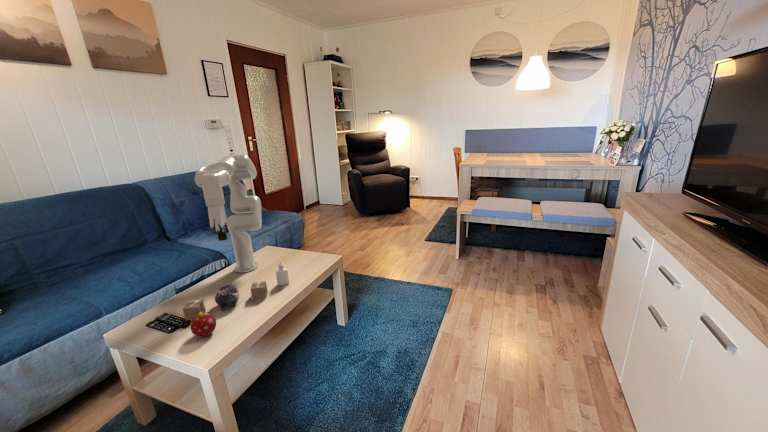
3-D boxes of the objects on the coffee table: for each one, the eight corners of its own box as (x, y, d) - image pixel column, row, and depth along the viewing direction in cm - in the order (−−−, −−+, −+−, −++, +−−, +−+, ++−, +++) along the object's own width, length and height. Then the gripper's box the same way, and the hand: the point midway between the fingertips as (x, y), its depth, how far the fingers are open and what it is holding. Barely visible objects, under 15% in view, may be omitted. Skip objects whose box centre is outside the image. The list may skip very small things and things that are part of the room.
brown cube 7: (190, 313, 136) (187, 300, 134) (205, 311, 137) (202, 298, 136) (185, 321, 131) (182, 308, 129) (201, 318, 132) (198, 306, 130)
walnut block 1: (254, 294, 150) (252, 282, 148) (267, 292, 151) (265, 280, 149) (252, 300, 144) (250, 288, 142) (266, 298, 146) (264, 286, 144)
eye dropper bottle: (280, 281, 161) (276, 260, 157) (290, 281, 160) (287, 260, 156) (276, 285, 156) (272, 264, 153) (286, 286, 156) (283, 264, 152)
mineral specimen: (221, 295, 146) (225, 277, 143) (241, 303, 146) (246, 286, 143) (207, 306, 137) (211, 288, 134) (228, 315, 137) (233, 297, 134)
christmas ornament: (214, 339, 118) (209, 316, 116) (189, 343, 117) (183, 320, 114) (220, 325, 126) (215, 304, 124) (197, 329, 125) (192, 307, 122)
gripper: (210, 197, 144) (218, 234, 149) (200, 206, 130) (209, 247, 136) (228, 196, 145) (235, 233, 151) (220, 204, 131) (228, 244, 137)
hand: (223, 239), depth 143 cm, fingers closed
